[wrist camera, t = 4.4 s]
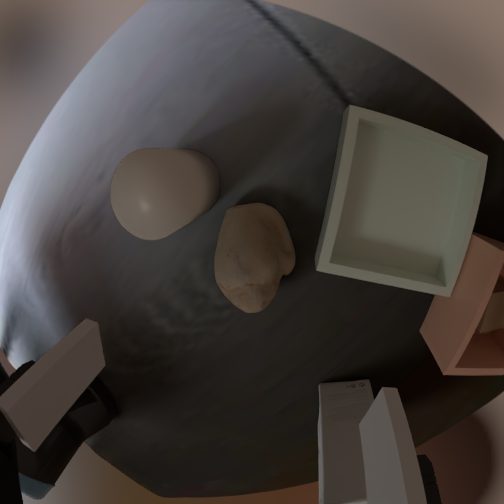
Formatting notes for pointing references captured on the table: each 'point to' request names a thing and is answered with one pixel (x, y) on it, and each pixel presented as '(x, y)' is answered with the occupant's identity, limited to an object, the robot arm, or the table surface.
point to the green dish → (399, 204)
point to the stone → (252, 255)
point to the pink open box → (468, 315)
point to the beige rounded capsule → (162, 190)
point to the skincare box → (342, 441)
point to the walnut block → (494, 309)
